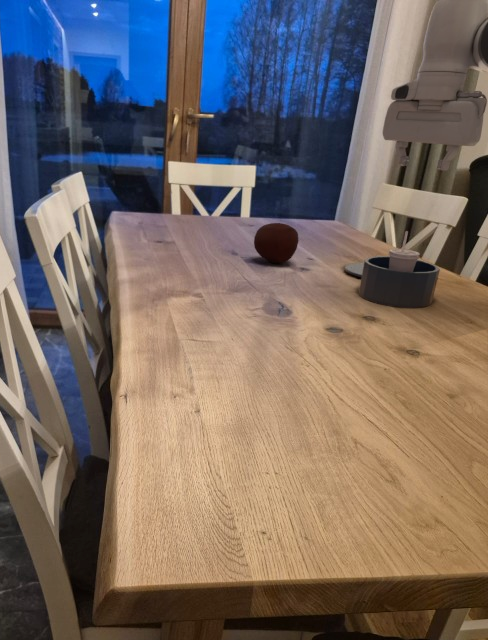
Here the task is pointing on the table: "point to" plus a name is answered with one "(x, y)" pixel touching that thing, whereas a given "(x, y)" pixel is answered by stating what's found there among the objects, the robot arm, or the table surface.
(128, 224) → the table surface
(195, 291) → the table surface
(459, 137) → the robot arm
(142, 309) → the table surface
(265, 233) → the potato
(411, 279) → the pot
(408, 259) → the smoothie
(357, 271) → the lid
